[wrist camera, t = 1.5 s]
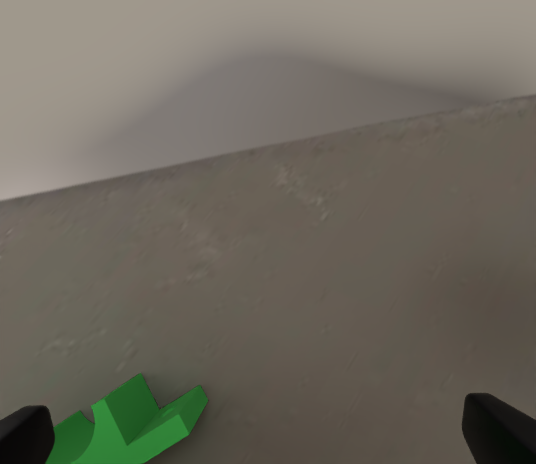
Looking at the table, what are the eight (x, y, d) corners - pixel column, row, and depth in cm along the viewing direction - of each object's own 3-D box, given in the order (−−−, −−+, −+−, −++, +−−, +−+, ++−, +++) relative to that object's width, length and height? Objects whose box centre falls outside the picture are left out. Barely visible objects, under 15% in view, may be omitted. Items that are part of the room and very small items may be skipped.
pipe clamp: (181, 347, 21) (155, 366, 16) (209, 399, 20) (190, 434, 16) (27, 442, 20) (-44, 489, 16) (52, 498, 20) (-15, 564, 15)
